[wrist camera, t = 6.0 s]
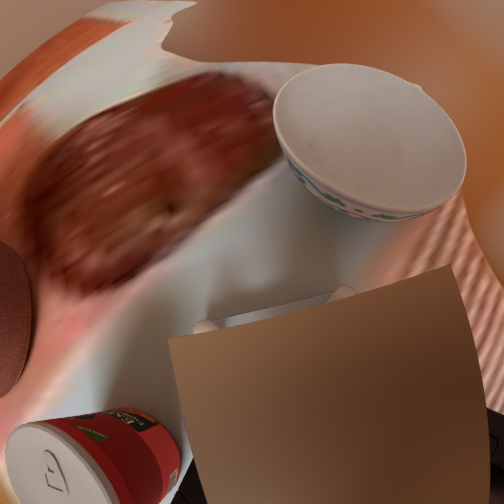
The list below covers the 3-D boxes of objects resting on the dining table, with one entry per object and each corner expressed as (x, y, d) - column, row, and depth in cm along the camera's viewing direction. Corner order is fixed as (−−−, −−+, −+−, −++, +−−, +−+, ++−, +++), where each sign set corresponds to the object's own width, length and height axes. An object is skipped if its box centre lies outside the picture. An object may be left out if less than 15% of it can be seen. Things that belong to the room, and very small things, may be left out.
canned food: (162, 397, 19) (76, 416, 9) (200, 488, 17) (148, 563, 6) (85, 413, 19) (-12, 423, 9) (118, 496, 16) (41, 544, 6)
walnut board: (350, 439, 13) (484, 540, 2) (269, 461, 13) (259, 621, 2) (326, 339, 15) (450, 264, 4) (244, 359, 15) (167, 338, 4)
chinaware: (331, 103, 29) (340, 47, 22) (446, 180, 25) (481, 132, 18) (238, 185, 26) (226, 122, 18) (380, 294, 21) (426, 260, 14)
